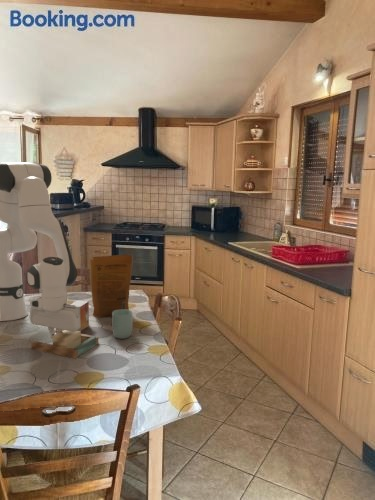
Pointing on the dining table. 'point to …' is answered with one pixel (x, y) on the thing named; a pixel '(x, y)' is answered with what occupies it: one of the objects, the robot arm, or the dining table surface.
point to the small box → (83, 313)
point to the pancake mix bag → (110, 283)
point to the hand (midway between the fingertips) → (55, 338)
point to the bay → (64, 351)
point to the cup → (122, 323)
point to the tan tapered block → (67, 339)
